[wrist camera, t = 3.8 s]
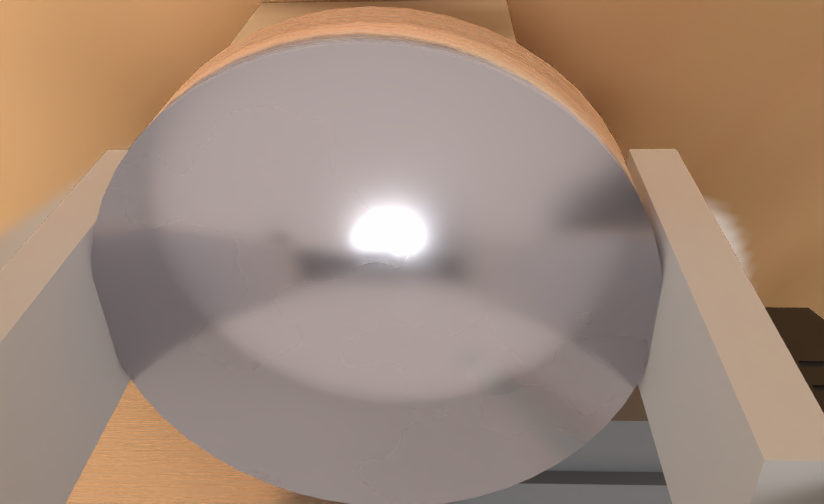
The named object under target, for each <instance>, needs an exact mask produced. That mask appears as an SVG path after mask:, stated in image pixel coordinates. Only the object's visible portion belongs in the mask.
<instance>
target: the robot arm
mask: <svg viewBox="0 0 824 504" xmlns="http://www.w3.org/2000/svg"><path fill="white" fill-rule="evenodd" d="M127 152H128V150H107V151H106V152H105V153H104V154H103V156H102V157H101V158H100V159H99V160H98V161H97V162H96V163H95V164H94V166H93V167H92V168H91V169H90V170H89V171H88V172H87V173H86V175H85V176H84V177H83V178H82V179H81V180H80V181H79V182H78V184H77V185H76V186H75V187H74V188H73V189H72V190H71V191H70V192H69V194H68V195H67V196H66V197H65V198H64V199H63V200H62V201H61V203H60V204H59V205H58V206H57V207H56V208H55V209H54V210H53V211H52V213H51V214H50V215H49V216H48V217H47V218H46V219H45V220H44V222H43V223H42V224H41V225H40V226H39V227H38V228H37V229H36V230H35V232H34V233H33V234H32V235H31V236H30V237H29V238H28V239H27V241H26V242H25V243H24V244H23V245H22V246H21V247H20V248H19V250H18V251H17V252H16V253H15V254H14V255H13V256H12V257H11V259H10V260H9V261H8V262H7V263H6V264H5V265H4V266H3V268H2V269H1V270H0V504H65V503H66V502H67V500H68V498H69V496H70V494H71V492H72V490H73V488H74V486H75V484H76V483H77V481H78V479H79V477H80V475H81V473H82V471H83V469H84V467H85V465H86V464H87V462H88V460H89V458H90V456H91V454H92V452H93V450H94V448H95V446H96V445H97V443H98V441H99V439H100V437H101V435H102V433H103V431H104V429H105V427H106V426H107V424H108V422H109V420H110V418H111V416H112V414H113V412H114V410H115V408H116V407H117V405H118V403H119V401H120V399H121V397H122V395H123V393H124V391H125V389H126V388H127V386H128V384H129V382H130V380H131V379H130V378H129V376H128V375H127V374H126V372H125V370H124V368H123V367H122V365H121V363H120V361H119V360H118V358H117V355H116V352H115V349H114V345H113V342H112V339H111V336H110V332H109V329H108V326H107V323H106V319H105V316H104V313H103V310H102V306H101V303H100V300H99V297H98V293H97V290H96V287H95V284H94V280H93V275H92V261H91V258H92V247H93V236H94V228H95V224H96V220H97V216H98V213H99V209H100V205H101V201H102V198H103V196H104V193H105V191H106V189H107V187H108V185H109V183H110V180H111V178H112V176H113V174H114V172H115V170H116V168H117V166H118V165H119V163H120V162H121V160H122V159H123V158H124V156H125V155H126V153H127ZM627 168H628V170H629V173H630V175H631V178H632V180H633V183H634V185H635V187H636V190H637V192H638V195H639V197H640V200H641V202H642V204H643V207H644V209H645V212H646V214H647V216H648V219H649V221H650V224H651V226H652V229H653V231H654V235H655V240H656V244H657V248H658V253H659V257H660V261H661V272H662V288H661V294H660V299H659V304H658V310H657V315H656V321H655V326H654V331H653V337H652V342H651V347H650V353H649V358H648V363H647V365H646V368H645V370H644V372H643V374H642V376H641V379H640V381H639V382H638V386H639V390H640V393H641V397H642V400H643V404H644V407H645V411H646V414H647V418H648V421H649V425H650V428H651V432H652V435H653V439H654V442H655V446H656V449H657V453H658V456H659V460H660V463H661V467H662V470H663V474H664V477H665V481H666V484H667V488H668V491H669V495H670V498H671V501H672V504H824V320H823V319H822V318H821V317H820V316H818V315H817V314H816V313H814V312H813V311H812V310H810V309H809V308H771V307H764V305H763V304H762V302H761V300H760V298H759V296H758V295H757V293H756V291H755V289H754V287H753V286H752V284H751V282H750V280H749V278H748V277H747V275H746V273H745V271H744V269H743V268H742V266H741V264H740V262H739V261H738V259H737V257H736V255H735V253H734V252H733V250H732V248H731V246H730V244H729V243H728V241H727V239H726V237H725V235H724V234H723V232H722V230H721V228H720V226H719V225H718V223H717V221H716V219H715V217H714V216H713V214H712V212H711V210H710V208H709V207H708V205H707V203H706V201H705V200H704V198H703V196H702V194H701V192H700V191H699V189H698V187H697V185H696V183H695V182H694V180H693V178H692V176H691V174H690V173H689V171H688V169H687V167H686V165H685V164H684V162H683V160H682V158H681V156H680V155H679V153H678V151H677V149H629V152H628V159H627Z"/></svg>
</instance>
